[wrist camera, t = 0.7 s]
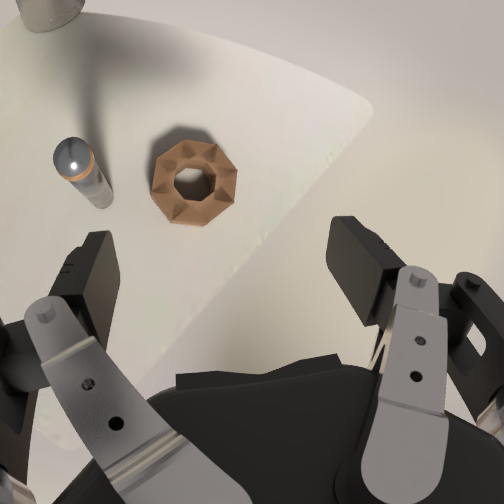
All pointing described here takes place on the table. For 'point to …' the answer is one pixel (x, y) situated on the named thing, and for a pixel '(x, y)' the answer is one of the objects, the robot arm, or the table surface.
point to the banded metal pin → (82, 171)
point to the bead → (212, 166)
